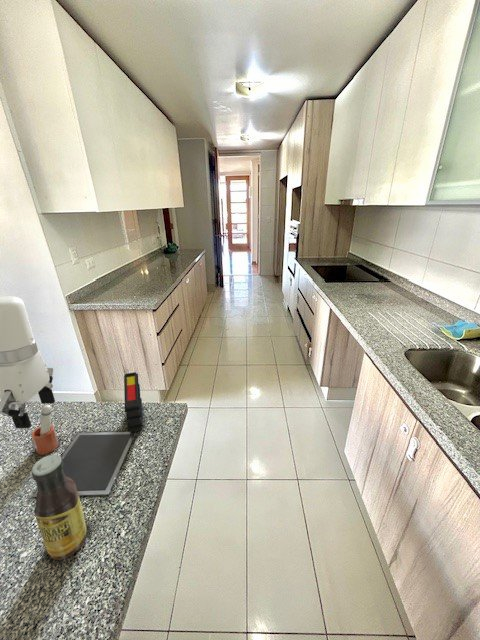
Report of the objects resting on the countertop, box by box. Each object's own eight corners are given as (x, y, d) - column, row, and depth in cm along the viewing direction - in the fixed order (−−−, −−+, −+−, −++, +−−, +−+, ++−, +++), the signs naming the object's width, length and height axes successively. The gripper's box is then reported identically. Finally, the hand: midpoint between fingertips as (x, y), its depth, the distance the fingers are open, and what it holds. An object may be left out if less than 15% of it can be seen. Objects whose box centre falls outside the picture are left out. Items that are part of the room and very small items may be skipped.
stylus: (37, 449, 67) (39, 408, 62) (42, 443, 69) (45, 402, 64) (45, 451, 67) (48, 409, 63) (50, 444, 69) (54, 404, 64)
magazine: (141, 397, 86) (137, 370, 76) (144, 436, 77) (139, 411, 67) (129, 399, 85) (123, 373, 75) (131, 439, 76) (124, 415, 66)
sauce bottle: (40, 563, 46) (6, 482, 39) (63, 524, 51) (36, 448, 44) (78, 563, 46) (50, 482, 39) (96, 524, 51) (75, 448, 44)
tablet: (33, 499, 56) (32, 495, 56) (78, 435, 73) (78, 432, 72) (108, 497, 57) (108, 493, 56) (136, 434, 73) (136, 431, 73)
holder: (33, 456, 66) (26, 438, 64) (45, 442, 70) (39, 424, 68) (51, 455, 66) (45, 437, 64) (62, 441, 71) (57, 424, 68)
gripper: (27, 335, 66) (44, 392, 72) (-39, 372, 50) (-9, 442, 56) (57, 335, 66) (72, 392, 73) (1, 372, 50) (27, 441, 56)
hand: (36, 413), depth 64 cm, fingers open, 8 cm apart
